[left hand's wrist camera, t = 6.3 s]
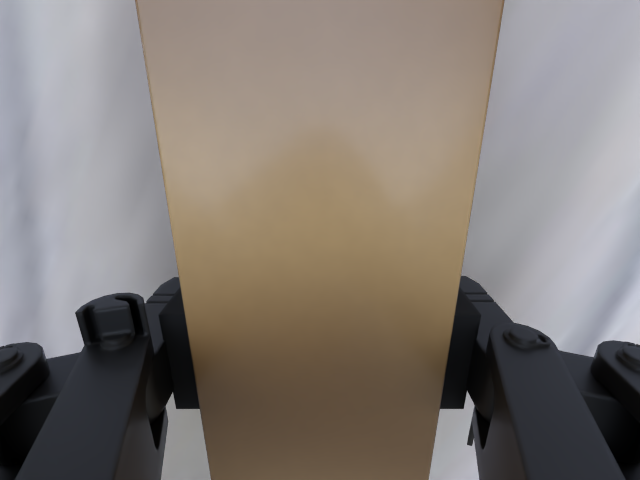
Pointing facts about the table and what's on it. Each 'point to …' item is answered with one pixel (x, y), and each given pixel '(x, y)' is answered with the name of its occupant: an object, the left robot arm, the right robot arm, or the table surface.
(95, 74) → the table surface
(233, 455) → the bar
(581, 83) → the table surface
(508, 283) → the table surface
